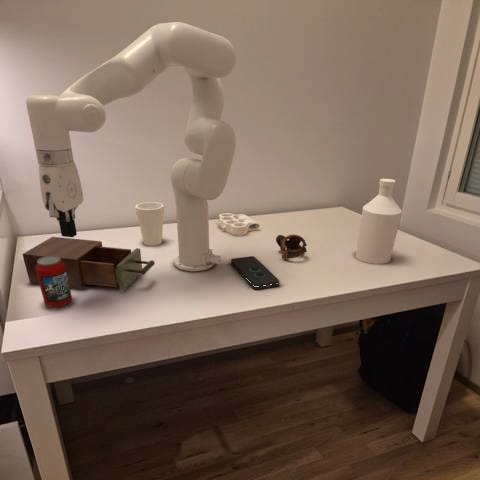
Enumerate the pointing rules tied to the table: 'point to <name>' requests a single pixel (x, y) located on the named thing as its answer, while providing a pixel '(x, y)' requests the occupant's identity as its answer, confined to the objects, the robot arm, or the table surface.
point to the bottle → (379, 226)
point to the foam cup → (151, 222)
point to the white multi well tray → (237, 223)
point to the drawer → (112, 267)
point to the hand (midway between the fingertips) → (69, 235)
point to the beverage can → (53, 281)
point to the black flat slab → (254, 272)
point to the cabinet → (61, 257)
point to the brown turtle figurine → (291, 246)
